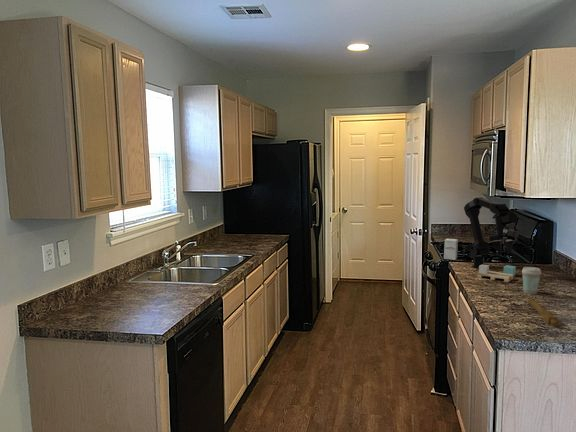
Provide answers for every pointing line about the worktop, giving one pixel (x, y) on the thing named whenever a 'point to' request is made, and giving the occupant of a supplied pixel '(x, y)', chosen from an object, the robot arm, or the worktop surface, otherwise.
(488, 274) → the pallet dock
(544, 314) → the tap handle
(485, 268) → the gray cube
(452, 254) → the supplement box
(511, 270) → the teal cube box
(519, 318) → the worktop surface
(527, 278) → the coffee cup
